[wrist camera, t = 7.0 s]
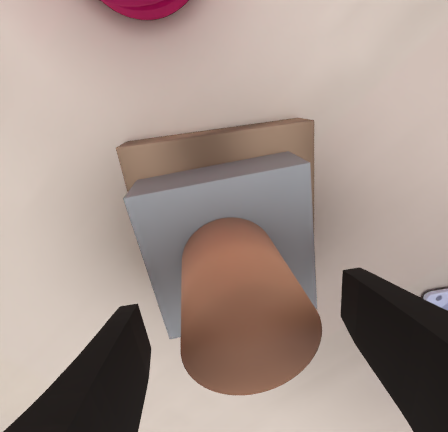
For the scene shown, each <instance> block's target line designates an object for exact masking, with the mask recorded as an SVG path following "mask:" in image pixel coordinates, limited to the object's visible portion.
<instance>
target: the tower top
mask: <svg viewBox="0 0 448 432" xmlns="http://www.w3.org/2000/svg"><path fill="white" fill-rule="evenodd" d="M123 199H124V202H125V206H126V209H127V212H128V215H129V218H130V221H131V224H132V227H133V230H134V233H135V236H136V239H137V242H138V245H139V248H140V251H141V254H142V257H143V260H144V263H145V266H146V269H147V272H148V275H149V278H150V281H151V284H152V287H153V290H154V293H155V296H156V299H157V302H158V305H159V308H160V311H161V314H162V317H163V320H164V323H165V326H166V329H167V332H168V335H169V338H170V339H174V338H178V337H181V276H182V254H183V250H184V247H185V245H186V243H187V242H188V240H189V238H190V237H191V236H192V235H193V234H194V233H195V232H196V231H197V230H198V229H199V228H201V227H202V226H204V225H205V224H207V223H209V222H212V221H214V220H217V219H221V218H242V219H246V220H249V221H251V222H253V223H255V224H257V225H258V226H260V227H261V228H262V229H263V230H264V231H265V232H266V233H267V235H268V236H269V237H270V239H271V240H272V242H273V244H274V245H275V247H276V248H277V250H278V251H279V253H280V254H281V256H282V257H283V259H284V261H285V262H286V264H287V265H288V267H289V268H290V270H291V271H292V273H293V274H294V276H295V277H296V279H297V281H298V282H299V284H300V285H301V287H302V288H303V290H304V291H305V293H306V294H307V296H308V297H309V299H310V301H311V302H312V304H313V305H314V307H315V308H316V309H317V295H316V274H315V253H314V232H313V211H312V190H311V169H310V162H308V161H306V160H304V159H302V158H300V157H299V156H297V155H295V154H293V153H291V152H289V151H286V152H281V153H276V154H271V155H265V156H260V157H255V158H250V159H244V160H239V161H234V162H228V163H223V164H218V165H213V166H207V167H202V168H197V169H192V170H186V171H181V172H176V173H171V174H166V175H160V176H155V177H150V178H145V179H139V180H137V181H136V182H135V183H134V185H133V186H132V187H131V189H130V190H129V191H128V193H127V194H126V195H125V197H124V198H123Z"/></svg>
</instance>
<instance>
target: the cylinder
mask: <svg viewBox="0 0 448 432" xmlns="http://www.w3.org/2000/svg"><path fill="white" fill-rule="evenodd" d="M321 336H322V325H321V320H320V316H319V314H318V312H317V310H316V308H315V307H314V305H313V304H312V302H311V301H310V299H309V297H308V296H307V294H306V293H305V291H304V290H303V288H302V287H301V285H300V284H299V282H298V281H297V279H296V277H295V276H294V274H293V273H292V271H291V270H290V268H289V267H288V265H287V264H286V262H285V261H284V259H283V257H282V256H281V254H280V253H279V251H278V250H277V248H276V247H275V245H274V244H273V242H272V240H271V239H270V237H269V236H268V235H267V233H266V232H265V231H264V230H263V229H262V228H261V227H260V226H258V225H257V224H255V223H253V222H251V221H249V220H246V219H242V218H221V219H217V220H214V221H212V222H209V223H207V224H205V225H204V226H202V227H201V228H199V229H198V230H197V231H196V232H195V233H194V234H193V235H192V236H191V237H190V238H189V240H188V242H187V243H186V245H185V247H184V250H183V254H182V276H181V358H182V362H183V365H184V367H185V369H186V371H187V372H188V374H189V375H190V376H191V377H192V378H193V379H194V380H195V381H196V382H197V383H198V384H200V385H202V386H203V387H205V388H207V389H209V390H211V391H215V392H218V393H222V394H227V395H251V394H256V393H261V392H265V391H268V390H271V389H274V388H276V387H278V386H280V385H282V384H284V383H286V382H288V381H289V380H291V379H292V378H294V377H295V376H296V375H298V374H299V373H300V372H301V371H302V370H303V369H304V368H305V367H306V366H307V365H308V364H309V363H310V361H311V360H312V359H313V357H314V355H315V354H316V352H317V350H318V347H319V345H320V341H321Z"/></svg>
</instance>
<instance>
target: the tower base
mask: <svg viewBox="0 0 448 432" xmlns="http://www.w3.org/2000/svg"><path fill="white" fill-rule="evenodd" d="M116 151H117V154H118V158H119V162H120V165H121V169H122V173H123V176H124V180H125V184H126V188H127V191H129V190H130V189H131V187H132V186H133V185H134V183H135V182H136V181H137V180H139V179H145V178H150V177H155V176H160V175H166V174H171V173H176V172H181V171H186V170H192V169H197V168H202V167H207V166H213V165H218V164H223V163H228V162H234V161H239V160H244V159H250V158H255V157H260V156H265V155H271V154H276V153H281V152H286V151H289V152H291V153H293V154H295V155H297V156H299V157H300V158H302V159H304V160H306V161H308V162H310V169H311V190H312V211H313V232H314V120H308V119H302V118H293V119H286V120H279V121H272V122H265V123H257V124H250V125H243V126H236V127H229V128H221V129H214V130H207V131H200V132H193V133H185V134H178V135H171V136H164V137H157V138H149V139H142V140H135V141H128V142H125V143H124V144H122V145H120V146H119V147H117V148H116ZM158 306H159V305H158Z"/></svg>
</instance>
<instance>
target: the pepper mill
mask: <svg viewBox="0 0 448 432" xmlns="http://www.w3.org/2000/svg"><path fill="white" fill-rule="evenodd" d="M100 1H102V2H103V3H104V4H106V5H107V6H109V7H110V8H111V9H113V10H114V11H116V12H118V13H120V14H122V15H125V16H127V17H130V18H135V19H140V20H153V19H159V18H163V17H166V16H168V15H170V14H172V13H174V12H176V11H177V10H178V9H180V8H181V7H182V6H183V5H184V4H186V3H187V1H188V0H100Z"/></svg>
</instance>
